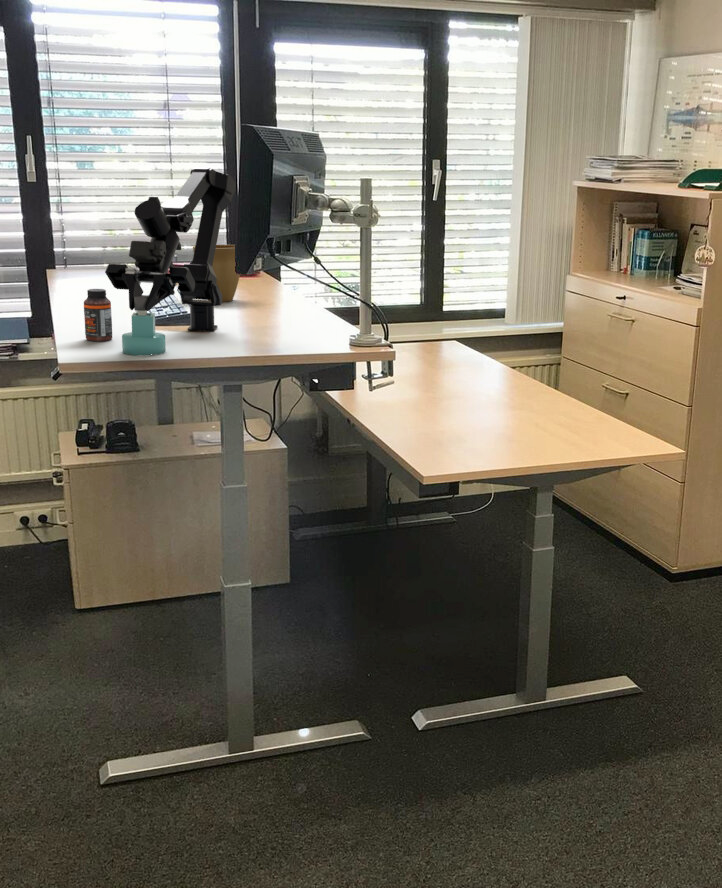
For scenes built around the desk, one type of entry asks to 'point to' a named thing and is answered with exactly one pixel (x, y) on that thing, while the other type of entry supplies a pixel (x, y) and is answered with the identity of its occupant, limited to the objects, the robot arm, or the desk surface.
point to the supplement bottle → (97, 316)
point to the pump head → (140, 304)
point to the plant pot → (225, 271)
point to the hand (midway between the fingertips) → (138, 309)
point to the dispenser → (143, 337)
